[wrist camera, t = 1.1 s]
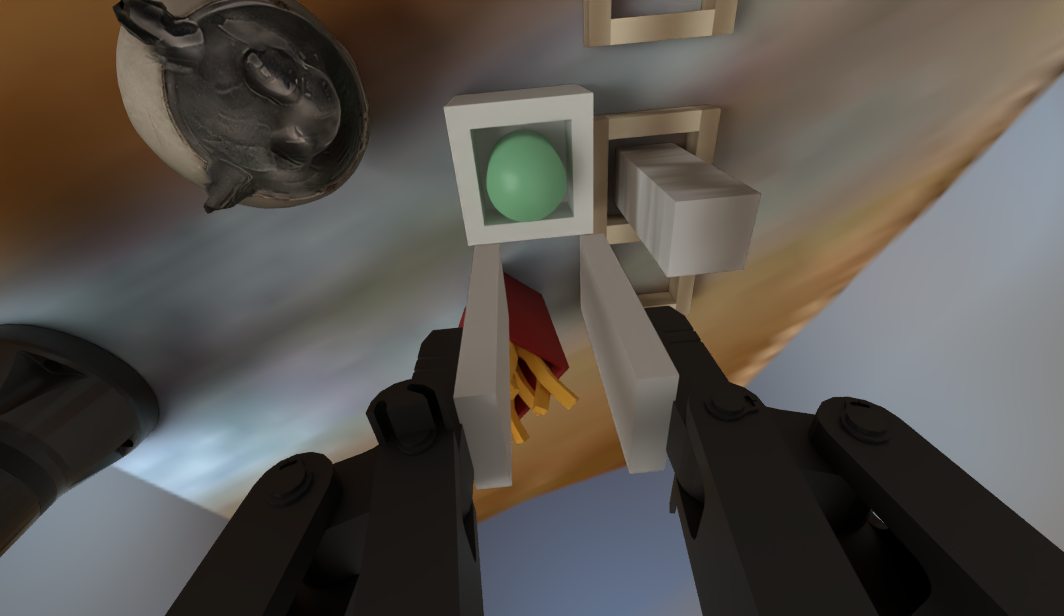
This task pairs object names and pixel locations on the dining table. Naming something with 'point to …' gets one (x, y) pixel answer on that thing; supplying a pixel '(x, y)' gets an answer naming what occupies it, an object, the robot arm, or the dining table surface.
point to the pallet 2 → (673, 198)
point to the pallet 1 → (655, 23)
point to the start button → (525, 176)
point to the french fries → (532, 356)
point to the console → (537, 109)
